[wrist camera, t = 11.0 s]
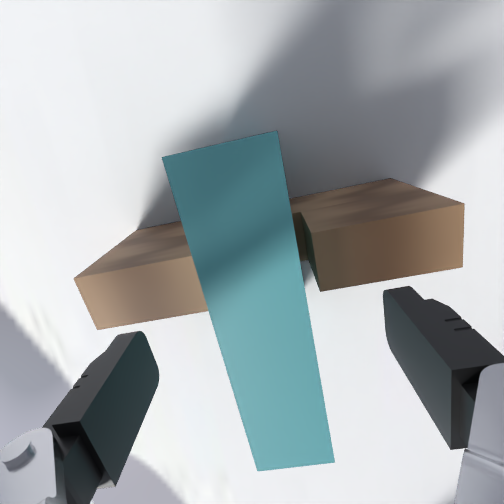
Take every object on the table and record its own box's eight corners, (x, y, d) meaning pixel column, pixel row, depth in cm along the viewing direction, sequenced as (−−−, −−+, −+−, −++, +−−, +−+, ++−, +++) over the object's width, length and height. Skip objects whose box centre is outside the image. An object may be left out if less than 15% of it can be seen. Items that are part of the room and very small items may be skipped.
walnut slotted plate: (390, 178, 20) (464, 203, 13) (392, 221, 22) (462, 267, 14) (136, 230, 22) (73, 278, 15) (149, 267, 23) (97, 330, 16)
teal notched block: (222, 143, 20) (161, 157, 8) (267, 132, 20) (277, 130, 8) (259, 301, 24) (257, 471, 12) (297, 295, 24) (334, 462, 12)
